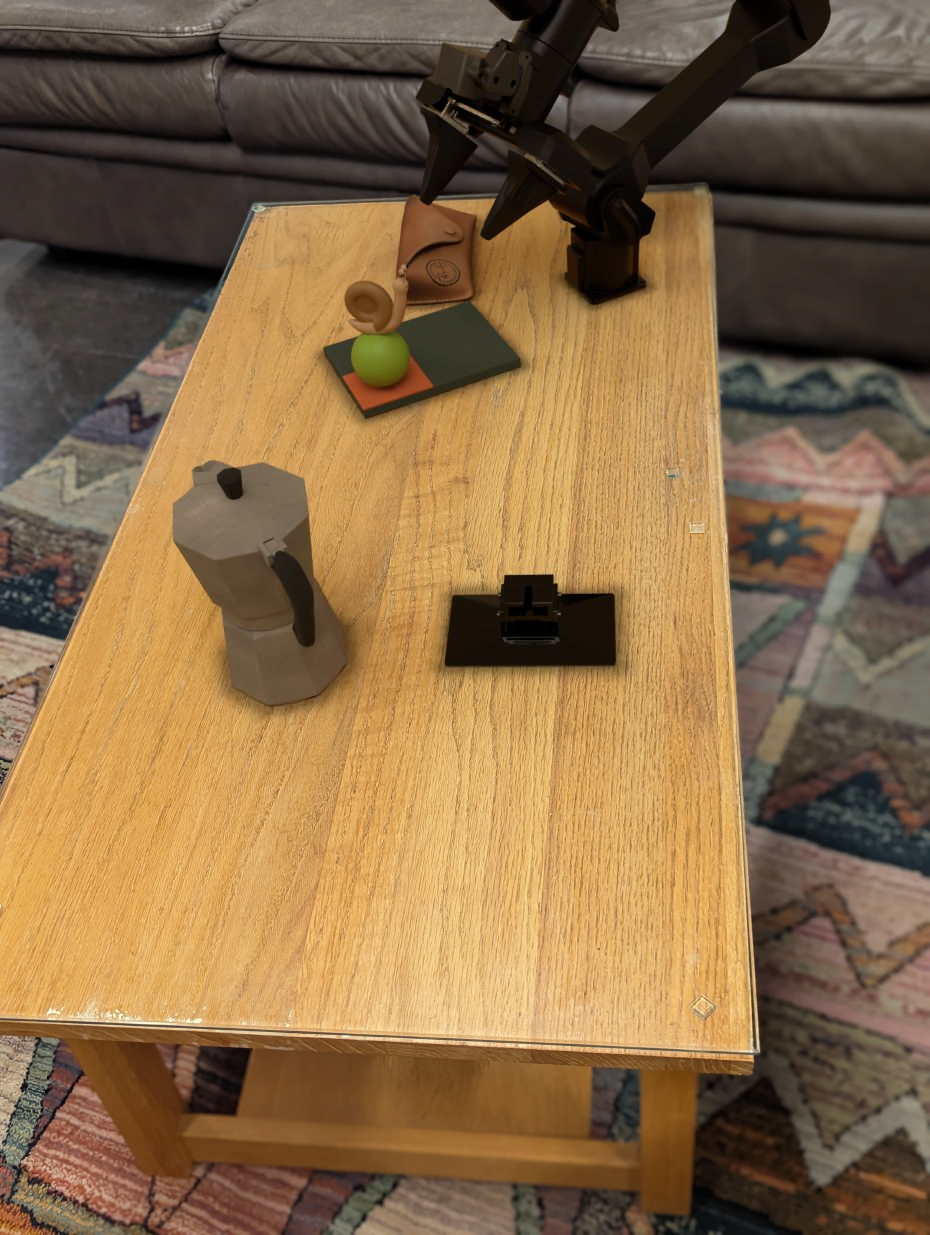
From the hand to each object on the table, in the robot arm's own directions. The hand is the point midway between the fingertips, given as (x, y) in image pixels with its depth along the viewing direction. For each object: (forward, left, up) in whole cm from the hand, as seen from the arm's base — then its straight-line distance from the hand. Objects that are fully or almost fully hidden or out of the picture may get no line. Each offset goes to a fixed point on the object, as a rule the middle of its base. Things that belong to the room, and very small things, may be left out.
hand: (453, 220), depth 96 cm
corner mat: (+5, -1, -14) cm, 14 cm away
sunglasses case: (-4, -18, -14) cm, 23 cm away
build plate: (+11, +36, -14) cm, 40 cm away
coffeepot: (+28, +31, -14) cm, 44 cm away
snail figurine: (+9, +2, -13) cm, 16 cm away
